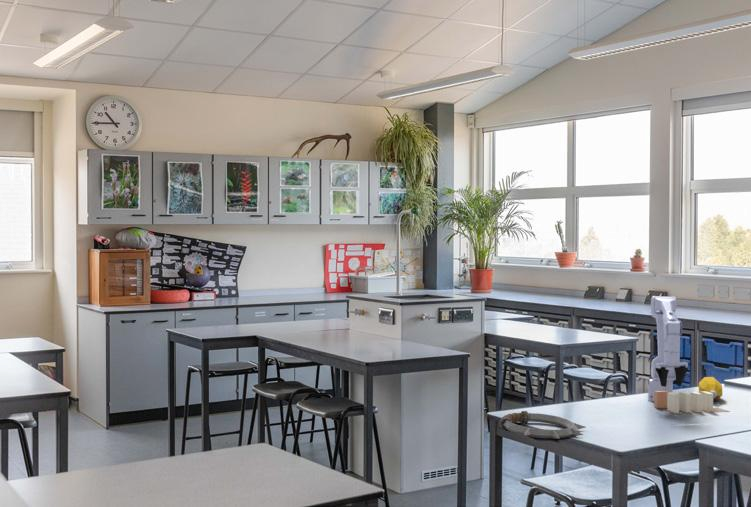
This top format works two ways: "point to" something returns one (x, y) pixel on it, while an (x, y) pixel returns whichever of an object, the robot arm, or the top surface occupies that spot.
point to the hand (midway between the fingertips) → (671, 385)
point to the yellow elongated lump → (711, 387)
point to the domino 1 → (660, 399)
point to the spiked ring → (526, 417)
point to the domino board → (697, 412)
